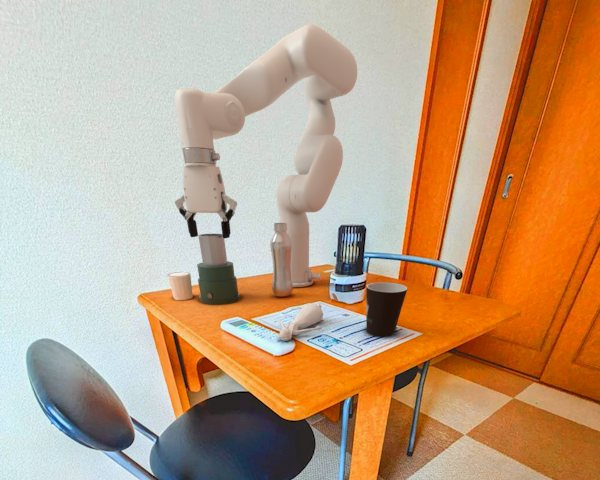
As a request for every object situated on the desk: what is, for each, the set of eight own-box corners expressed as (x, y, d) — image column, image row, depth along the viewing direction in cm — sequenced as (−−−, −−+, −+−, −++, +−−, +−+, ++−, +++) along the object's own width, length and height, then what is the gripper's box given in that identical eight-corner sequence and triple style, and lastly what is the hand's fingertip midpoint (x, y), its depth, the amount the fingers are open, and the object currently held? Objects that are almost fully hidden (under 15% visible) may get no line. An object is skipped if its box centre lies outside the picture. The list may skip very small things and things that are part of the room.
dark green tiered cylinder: (246, 294, 99) (242, 260, 94) (230, 305, 89) (225, 268, 84) (211, 292, 102) (206, 259, 96) (192, 303, 92) (185, 267, 86)
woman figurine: (338, 303, 75) (305, 332, 63) (337, 320, 78) (306, 352, 65) (295, 297, 80) (257, 323, 67) (296, 314, 83) (259, 342, 70)
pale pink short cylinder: (180, 302, 93) (175, 277, 89) (167, 298, 96) (161, 274, 92) (199, 296, 97) (195, 273, 94) (186, 293, 101) (181, 270, 97)
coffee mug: (392, 341, 67) (400, 294, 62) (355, 333, 71) (360, 288, 66) (407, 325, 75) (416, 282, 70) (374, 319, 79) (379, 278, 74)
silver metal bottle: (268, 297, 96) (264, 223, 85) (278, 292, 101) (275, 222, 90) (287, 299, 94) (285, 224, 83) (296, 294, 99) (295, 222, 88)
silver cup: (230, 262, 92) (227, 233, 88) (221, 266, 87) (216, 236, 83) (209, 261, 93) (205, 233, 89) (198, 265, 88) (193, 235, 84)
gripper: (238, 160, 78) (244, 237, 88) (176, 161, 81) (189, 235, 91) (225, 157, 72) (233, 239, 81) (159, 158, 75) (174, 237, 85)
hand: (210, 237), depth 86 cm, fingers open, 9 cm apart
